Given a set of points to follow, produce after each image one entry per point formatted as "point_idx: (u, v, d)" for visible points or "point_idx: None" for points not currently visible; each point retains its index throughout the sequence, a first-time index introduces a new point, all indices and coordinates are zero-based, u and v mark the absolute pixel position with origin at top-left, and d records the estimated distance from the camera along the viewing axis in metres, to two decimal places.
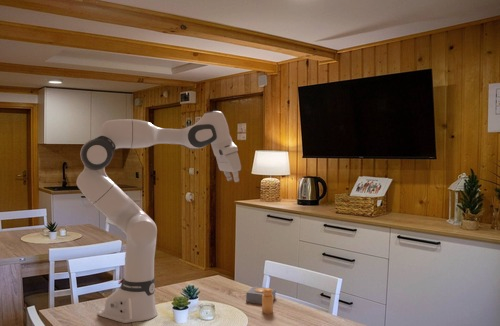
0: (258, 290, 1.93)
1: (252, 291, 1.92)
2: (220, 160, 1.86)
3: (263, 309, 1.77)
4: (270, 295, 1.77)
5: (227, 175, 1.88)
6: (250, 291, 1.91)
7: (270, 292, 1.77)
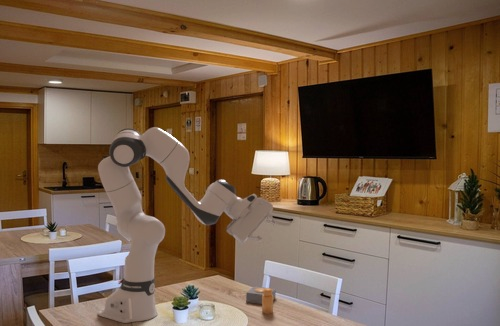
0: (258, 290, 1.93)
1: (252, 291, 1.92)
2: (242, 223, 1.73)
3: (263, 309, 1.77)
4: (270, 295, 1.77)
5: None
6: (250, 291, 1.91)
7: (270, 292, 1.77)
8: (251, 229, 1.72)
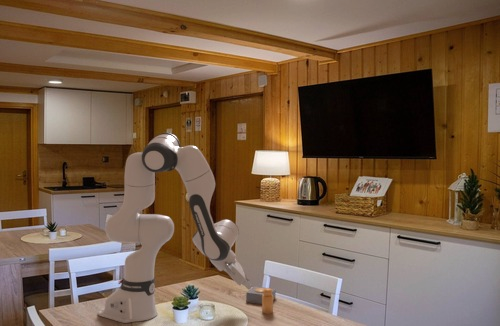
0: (258, 290, 1.93)
1: (252, 291, 1.92)
2: (236, 267, 1.71)
3: (263, 309, 1.77)
4: (270, 295, 1.77)
5: None
6: (250, 291, 1.91)
7: (270, 292, 1.77)
8: (244, 274, 1.71)
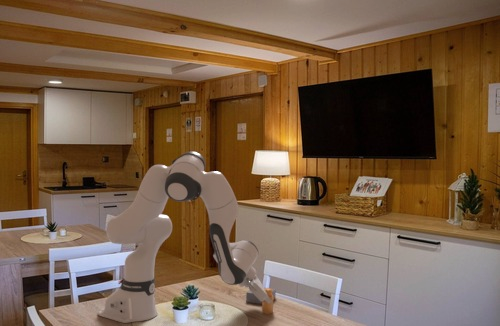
0: None
1: None
2: (257, 283, 1.73)
3: (263, 309, 1.77)
4: (270, 295, 1.77)
5: None
6: (250, 291, 1.91)
7: (270, 292, 1.77)
8: None
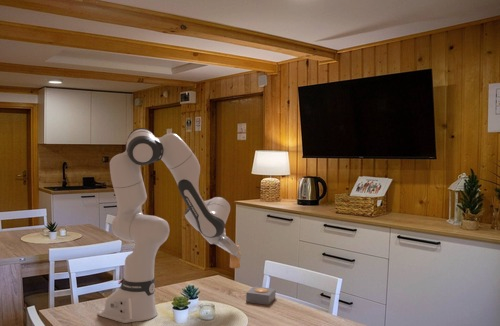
0: (258, 290, 1.93)
1: (252, 291, 1.92)
2: None
3: (232, 264, 1.86)
4: None
5: None
6: (250, 291, 1.91)
7: None
8: None
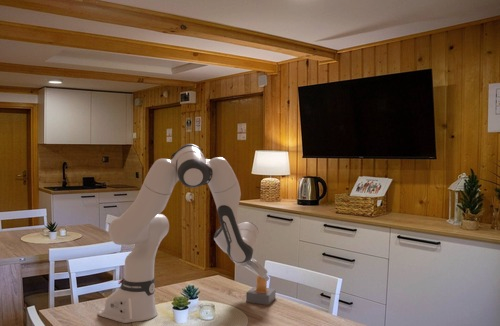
0: None
1: (252, 291, 1.92)
2: None
3: (258, 288, 1.91)
4: None
5: None
6: (250, 291, 1.91)
7: None
8: None
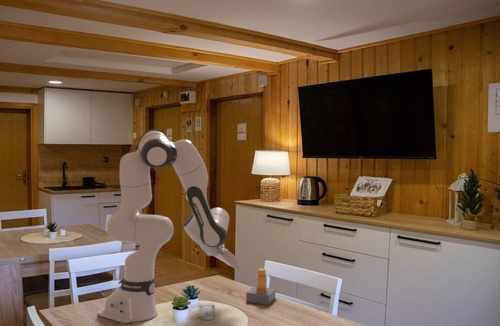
0: None
1: (252, 291, 1.92)
2: None
3: (258, 288, 1.91)
4: (264, 274, 1.92)
5: None
6: (250, 291, 1.91)
7: (264, 272, 1.92)
8: None
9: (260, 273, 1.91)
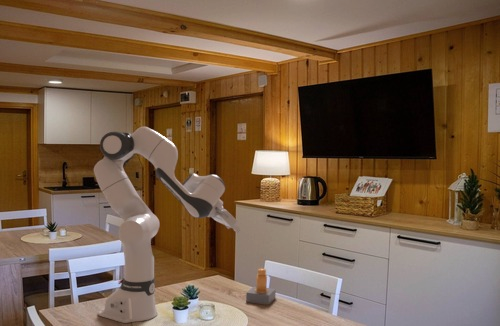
0: None
1: (252, 291, 1.92)
2: None
3: (258, 288, 1.91)
4: (264, 274, 1.92)
5: None
6: (250, 291, 1.91)
7: (265, 272, 1.92)
8: None
9: (260, 273, 1.91)
